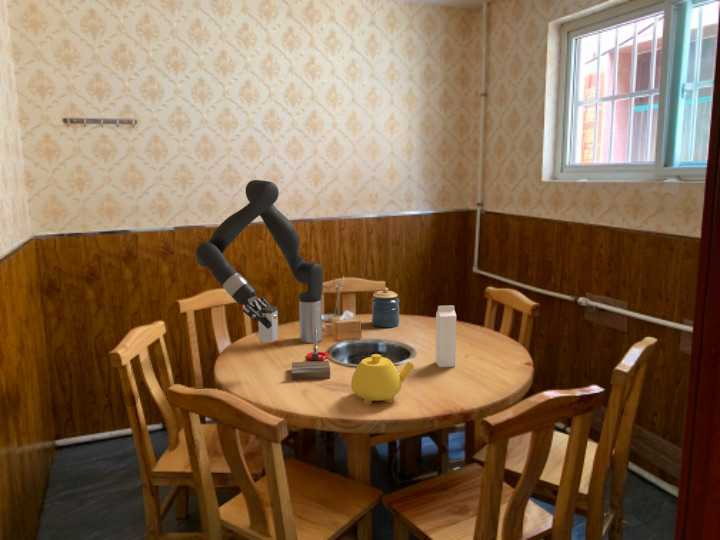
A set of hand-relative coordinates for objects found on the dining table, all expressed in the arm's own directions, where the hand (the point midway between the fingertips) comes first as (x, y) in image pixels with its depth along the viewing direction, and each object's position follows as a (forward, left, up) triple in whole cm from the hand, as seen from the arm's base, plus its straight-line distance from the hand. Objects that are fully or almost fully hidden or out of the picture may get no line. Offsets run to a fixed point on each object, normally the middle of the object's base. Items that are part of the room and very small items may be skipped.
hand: (273, 324), depth 187 cm
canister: (-62, +48, -19) cm, 80 cm away
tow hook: (-19, +15, -19) cm, 30 cm away
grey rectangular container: (-1, -2, -5) cm, 6 cm away
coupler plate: (-1, +12, -18) cm, 22 cm away
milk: (-4, +61, -19) cm, 64 cm away
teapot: (+23, +34, -19) cm, 46 cm away
